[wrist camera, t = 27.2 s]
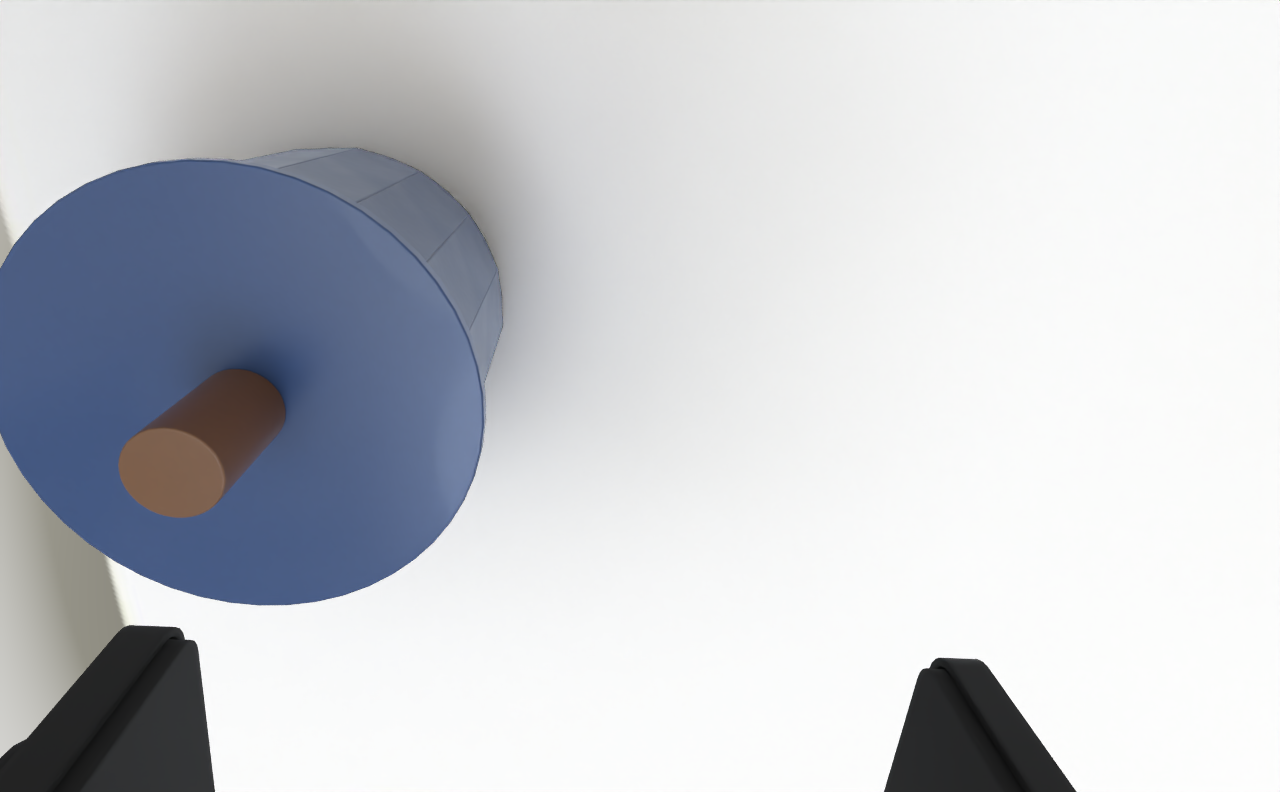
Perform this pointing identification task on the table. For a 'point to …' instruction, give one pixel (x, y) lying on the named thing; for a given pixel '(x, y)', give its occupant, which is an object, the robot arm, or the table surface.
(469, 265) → the tin
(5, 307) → the tin lid
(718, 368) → the table surface
